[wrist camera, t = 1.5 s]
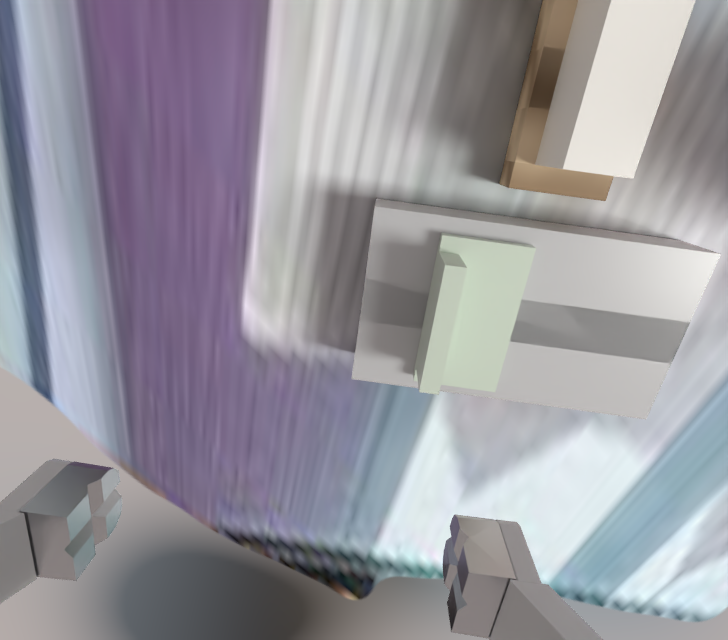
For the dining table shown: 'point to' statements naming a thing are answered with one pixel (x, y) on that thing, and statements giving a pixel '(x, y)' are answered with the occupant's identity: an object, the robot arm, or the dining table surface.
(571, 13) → the holder
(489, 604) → the robot arm
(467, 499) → the dining table surface
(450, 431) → the dining table surface
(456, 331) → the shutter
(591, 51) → the plug
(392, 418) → the dining table surface
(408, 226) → the socket
